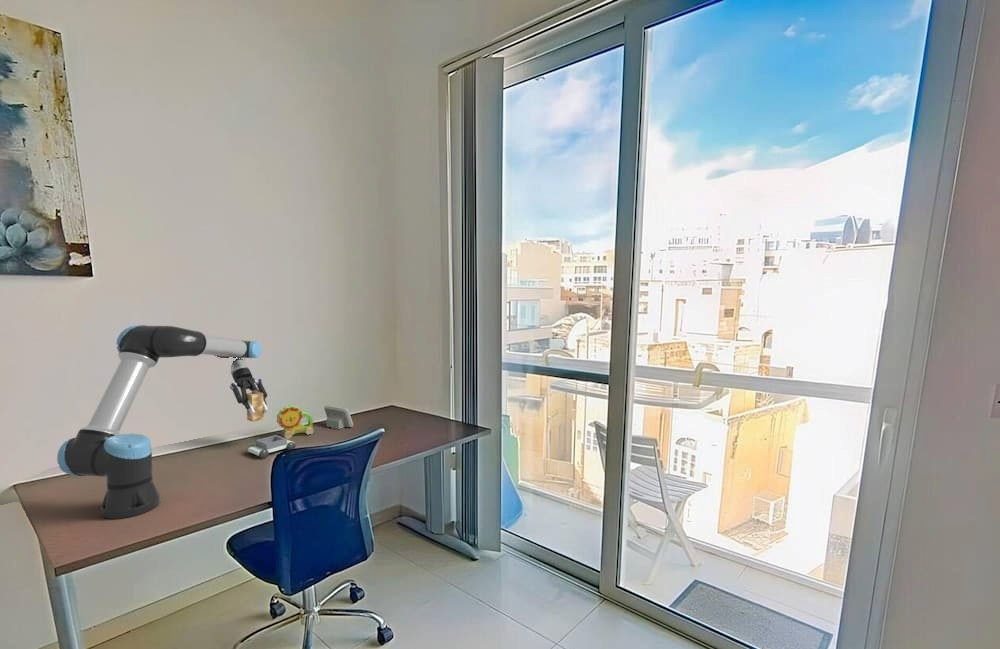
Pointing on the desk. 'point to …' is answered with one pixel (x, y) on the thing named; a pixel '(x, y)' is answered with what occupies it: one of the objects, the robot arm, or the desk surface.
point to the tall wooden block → (256, 406)
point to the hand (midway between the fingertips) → (259, 412)
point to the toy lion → (293, 421)
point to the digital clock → (338, 417)
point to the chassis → (270, 445)
